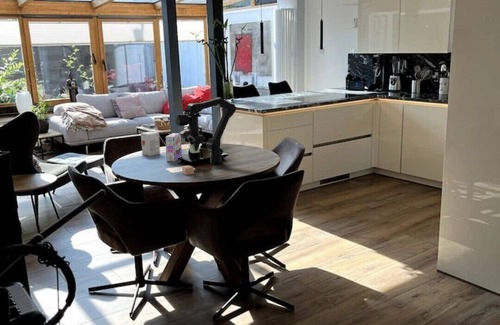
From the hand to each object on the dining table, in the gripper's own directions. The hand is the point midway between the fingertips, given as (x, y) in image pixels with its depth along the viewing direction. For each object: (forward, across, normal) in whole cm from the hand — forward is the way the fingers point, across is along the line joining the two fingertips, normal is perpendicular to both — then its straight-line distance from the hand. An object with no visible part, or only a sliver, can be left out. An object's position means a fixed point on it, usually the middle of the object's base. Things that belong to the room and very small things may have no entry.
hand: (194, 150), depth 284 cm
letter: (+10, +2, -10) cm, 15 cm away
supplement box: (+10, -50, -12) cm, 53 cm away
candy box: (+10, -25, -4) cm, 27 cm away
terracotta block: (+10, +14, -10) cm, 20 cm away
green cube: (+1, 0, 0) cm, 1 cm away
